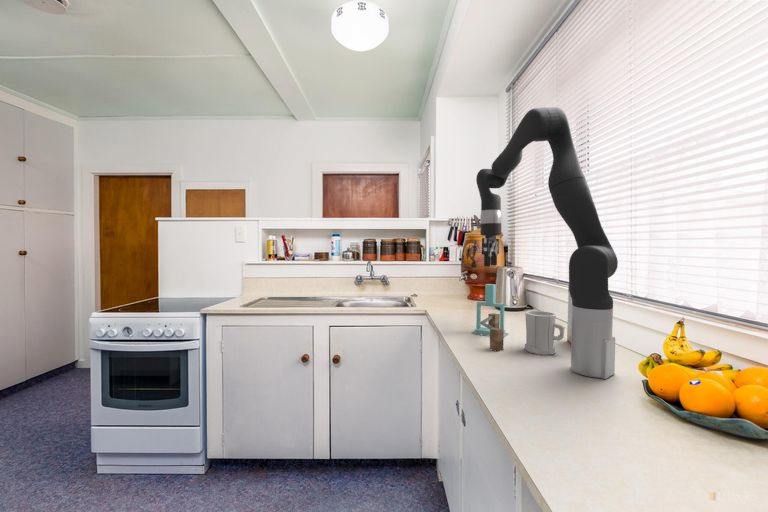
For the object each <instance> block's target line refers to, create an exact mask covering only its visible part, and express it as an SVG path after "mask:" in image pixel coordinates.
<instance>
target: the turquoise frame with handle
mask: <svg viewBox="0 0 768 512" xmlns="http://www.w3.org/2000/svg"><path fill="white" fill-rule="evenodd" d="M484 287H485V290H484V291H485V292H484V296H485V298H484V300H485V301H477V302H476V328H475V329H474V331H475V333H480V334H488V335H490V329H489V328H487V327H484V326H483V327H482V325H481V324H480V322H481V321H482V319H481V318H482V317H481V313H482V307H492V308H499V309H500V310H499V314H500V329H504V334H505V333H506V330H505V303H499V302H498V303H496V302H497V301H496V299H497V297H496V296H497V295H496V293H497V291H496V289H497V287H496V284H494V283H487V284H485V285H484Z"/></svg>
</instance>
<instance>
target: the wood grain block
mask: <svg viewBox="0 0 768 512" xmlns="http://www.w3.org/2000/svg"><path fill="white" fill-rule="evenodd" d="M491 315H494V318H492V319H491V320H489V321H487V323H488V325H490V326H492V327H494V328H492V329H490V336H489V350H490V349H492V350H491V351H494V350H496V351H495V352H501V351H503V350H504V338H503V335H504V330H505V328H504V329H500V313H494V312H492V313H488V317H490V316H491ZM488 317H487V318H488ZM500 350H501V351H500Z"/></svg>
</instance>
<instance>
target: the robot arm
mask: <svg viewBox="0 0 768 512" xmlns="http://www.w3.org/2000/svg"><path fill="white" fill-rule="evenodd" d="M533 142H548V143H549V146H550V149H551V153H552V164H551V168H550V173H549V176H548V180H547V181H548V182H547V184H548V190H549V193H550V196H551V199H552V203H553V204H554V207H555V209H556V210H557V212H558V214H559V215H560V217H561V218H562V219H563V221H564V222H565V224H566V225H567V227H568V228H569V229H570V231H571V232H572V235H573V236H574V239H575V243H576V246H577V249H575V250H574V251H573V252H572V253H571V255H570V257H569V258H570V259H569V263H568V285H569V291H570V295H571V298H572V338H571V343H570V344H571V345H570V346H571V347H570V348H571V349H570V355H571V356H570V370H571V371H572V372H574V373H575V374H579V375H582V376H585V377H591V378H597V379H598V378H599V379H603V380H607V379H608V378H610V377H612V376H613V375H615V371H616V370H615V369H616V368H615V367H616V365H615V363H616V337H615V336H613V327H614V326H613V322H614V321H613V320H614V319H613V318H614V299H613V297H612V296H611V294H610V290H609V278H612V276H613V275H615V273H616V272H617V269H618V265H619V264H618V263H619V261H618V256H617V254H616V252H615V251H614V249H613V246H612V244H611V243H610V241H609V238H608V236H607V235H606V233H605V231H604V228H603V227H602V224H601V221H600V217H599V214H598V211H597V208H596V205H595V202H594V199H593V196H592V193H591V190H590V187H589V184H588V181H587V179H586V177H585V173H584V172H583V170H582V169H583V168H582V167H581V163H580V160H579V158H578V153H577V151H576V148H575V143H574V141H573V136H572V132H571V128H570V123H569V120H568V117H567V114H566V113H565V111H564V110H563V109H562V108H561V107H558V106H544V107H535V108H531V109H530V110H528V111H527V112H526V114H524V116H523V117H522V119H521V120H520V123H518V125H517V128H516V129H515V131H514V132H513V134H512V136H511V138H510V139H509V141H508V142H507V143H508V144H506V146H505V147H504V149H503V150H502V151H501V153H500V154H499V155H498V156H497V157H496V158H495V159H494V161H493V162H492V163H491V168H482V169H480V170H479V171H478V172H477V175H476V185H477V189H478V193H479V197H480V201H481V202H480V218H479V221H480V225H479V226H480V233H479V234H480V236H481V237H482V236H483V237H482V238H481V255H483V256H482V257H483V267H485V268H486V267H489V268H490V267H491V266H493V267H494V266H495V267H496V266H498V255H499V254H500V239H499V238H497V236H501V235H502V204H501V203H502V200H501V199H502V198H501V195H499V194H497V193H493V192H492V191H491V189H500V188H502V187H504V186H505V184H506V182H507V180H508V178H509V176H510V174H511V173H512V172H513V171H514V170H515V169H516V168H517V167H518V165H519V164H521V161H522V159H523V150H524V149H525V148H526V147H527V146H529V144H530V145H531V143H533ZM484 236H485V237H484Z"/></svg>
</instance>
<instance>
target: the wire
mask: <svg viewBox="0 0 768 512" xmlns="http://www.w3.org/2000/svg"><path fill="white" fill-rule="evenodd" d="M492 318H494V315H491V316H490V317H486V318H485V319H483V320H481V322H480V324H481V326H483V327H484V328H489V329H492V328H494V327H492V326H490V325H488V324H487V323H488V321H489V320H491V319H492Z"/></svg>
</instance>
